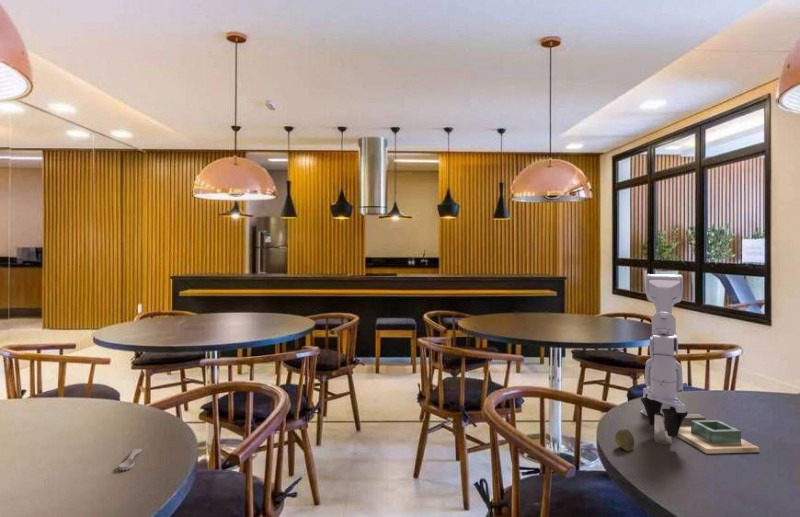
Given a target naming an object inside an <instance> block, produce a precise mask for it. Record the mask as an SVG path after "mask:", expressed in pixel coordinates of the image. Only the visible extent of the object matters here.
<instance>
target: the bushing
mask: <svg viewBox="0 0 800 517" xmlns="http://www.w3.org/2000/svg"><path fill="white" fill-rule="evenodd" d="M653 426H654V435H653V436H654V437H653V438H654V441H655V442H656V443H659V444H661V445H671V444H672V439H673V438H672V437H670V436H668V434H667V425H666V419H665V416H664V413H655V422H654V425H653Z"/></svg>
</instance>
